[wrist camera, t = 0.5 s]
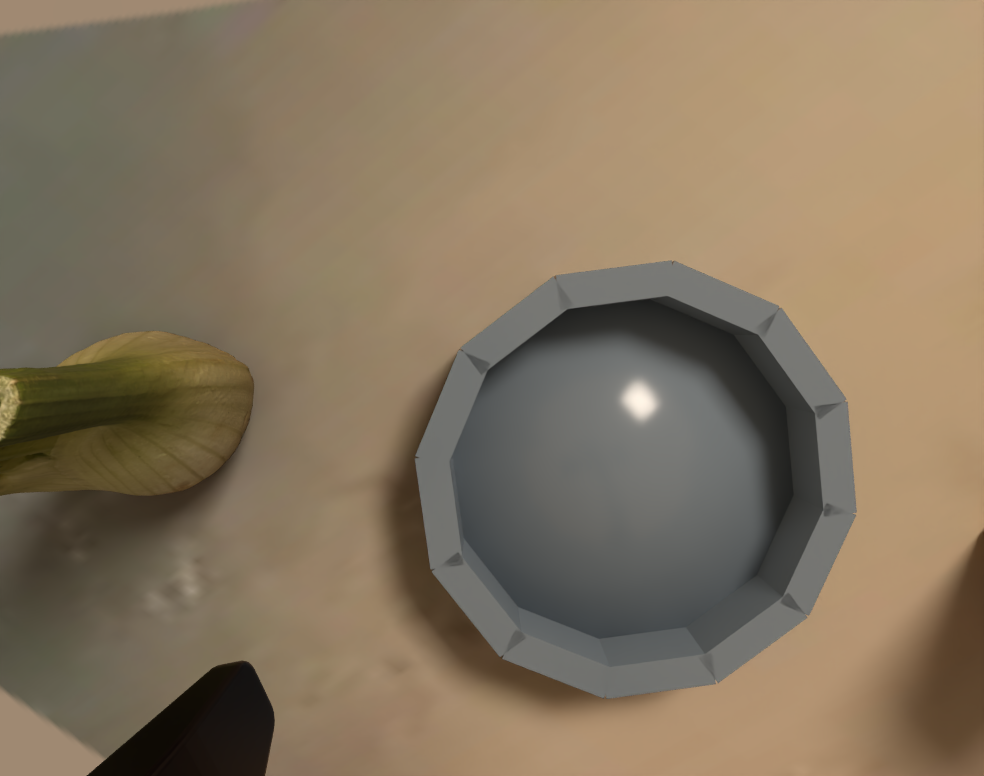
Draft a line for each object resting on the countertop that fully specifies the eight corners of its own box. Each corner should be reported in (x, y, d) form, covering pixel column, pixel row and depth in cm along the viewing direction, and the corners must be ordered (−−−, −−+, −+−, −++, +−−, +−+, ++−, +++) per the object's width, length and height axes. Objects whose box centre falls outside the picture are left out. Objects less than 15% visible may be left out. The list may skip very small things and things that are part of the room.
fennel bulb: (277, 333, 21) (6, 330, 9) (277, 479, 21) (18, 664, 9) (100, 329, 21) (-418, 319, 9) (104, 476, 21) (-385, 658, 9)
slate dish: (823, 624, 22) (869, 663, 19) (454, 674, 22) (451, 720, 19) (790, 251, 21) (834, 239, 18) (402, 301, 21) (391, 296, 18)
